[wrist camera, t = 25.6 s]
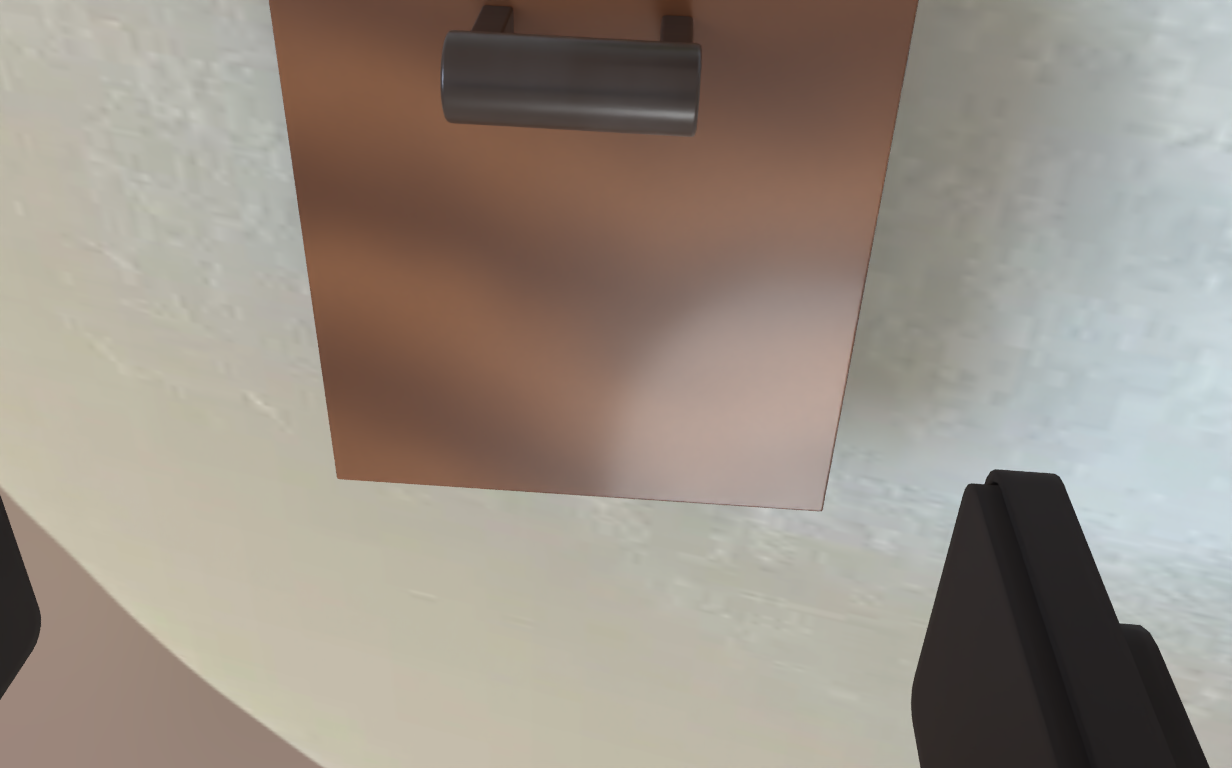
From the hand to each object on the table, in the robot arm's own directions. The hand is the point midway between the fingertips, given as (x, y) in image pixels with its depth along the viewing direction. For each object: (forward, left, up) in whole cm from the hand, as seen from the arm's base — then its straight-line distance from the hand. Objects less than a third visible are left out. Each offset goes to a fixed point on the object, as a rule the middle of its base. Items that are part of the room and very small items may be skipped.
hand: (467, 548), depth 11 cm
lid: (+6, 0, -19) cm, 19 cm away
